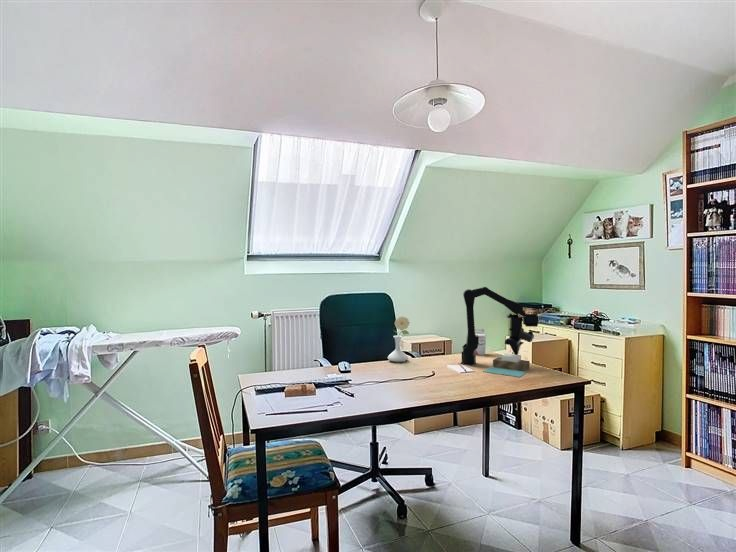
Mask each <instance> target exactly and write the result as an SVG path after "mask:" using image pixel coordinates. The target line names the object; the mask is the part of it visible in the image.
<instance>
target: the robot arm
mask: <svg viewBox="0 0 736 552" xmlns="http://www.w3.org/2000/svg"><path fill="white" fill-rule="evenodd" d="M462 293H463V294H462V295H463V300H464V304H465V309H466V310H465V311H466V325H467V326H466V328H467V334H466V341H465V342H466V343H464V345H462V351H461V362H459V363H460V364H461V365H468V366H473V365H475V364H476V363H477V362H476V360H477V358H476V357H477V355H475V352H474V350H476V349H477V348H478V344H479V342H478V340H479V337H478V335H475V332H476V331H475V329H476V328H475V315H474V314H475V313H474V312H475V311H474V306H475V305H474V304H475V300H476V298H478V297H481V296H484V295H485V296H487V297H488V298H490V299H492V300H493V301H496V302H498V303H499V304H501V305H503V306H504V307H506V308H507V310H509V311H510V312H509V314H508V315H506V318H508V319H510V327H509V331H510V335H509V337H508V338H506V339H505V340H504V345H507V346H508V345H509V346H510V348H511V350H512V353H513V354H515V355H519V352H520V349H521V346H522V345H523V344H524V343H525V342H528V343H531V342H532V341H533V339H534V338H535V335H534V332H533V331H528V332H527V331H525V329H524V328H523V325H524V327H529V328H531V327H532V328H537V327H538V326H539V320H538V314H537V313H526V312H525V311H524V306H523V305H522V304H521V303H519V302H517V301H514V300H511V299H509V298H506V297H505V296H502V295H500V294H498V293H497V292H495V291H493V290H492V289H490V288H488V287H487V286H483V287H479V288H475V289H469V288H468V289H465V290H463V292H462ZM511 312H512V313H514V314H512V313H511ZM519 315H520V316H519ZM522 340H524V341H525V342H524V341H522Z"/></svg>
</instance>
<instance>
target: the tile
mask: <svg viewBox="0 0 736 552" xmlns="http://www.w3.org/2000/svg"><path fill="white" fill-rule="evenodd" d="M501 357H502V360H503V361H511V362H519V361H521V360H522V355H521V354H518V355H515V354H514V353H503V354H502V355H501Z"/></svg>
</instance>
